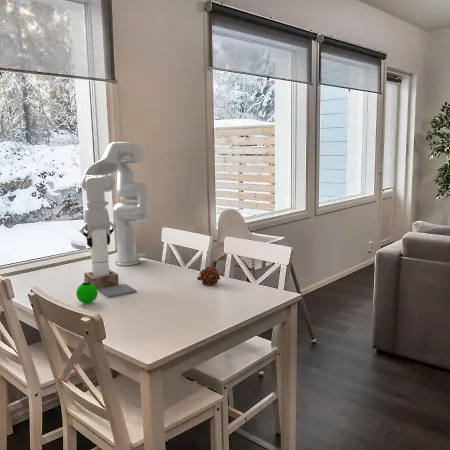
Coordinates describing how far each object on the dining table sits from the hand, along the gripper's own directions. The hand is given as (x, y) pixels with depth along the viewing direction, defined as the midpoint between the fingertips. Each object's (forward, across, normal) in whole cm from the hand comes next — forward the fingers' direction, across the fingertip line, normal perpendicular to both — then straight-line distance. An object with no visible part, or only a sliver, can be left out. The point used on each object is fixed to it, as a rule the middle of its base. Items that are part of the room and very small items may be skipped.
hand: (99, 245), depth 209 cm
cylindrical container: (+18, 0, 0) cm, 18 cm away
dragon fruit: (+18, -38, +29) cm, 51 cm away
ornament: (+18, +13, +21) cm, 31 cm away
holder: (+18, 0, 0) cm, 18 cm away
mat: (+18, -2, +14) cm, 23 cm away
